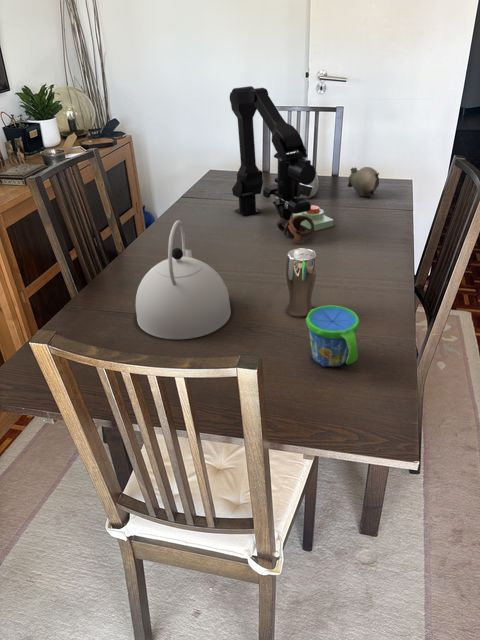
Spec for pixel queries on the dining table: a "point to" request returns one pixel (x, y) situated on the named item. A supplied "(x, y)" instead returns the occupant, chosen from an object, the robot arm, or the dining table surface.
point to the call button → (314, 209)
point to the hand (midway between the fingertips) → (285, 224)
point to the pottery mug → (296, 228)
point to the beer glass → (300, 280)
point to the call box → (316, 220)
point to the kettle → (181, 296)
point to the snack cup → (333, 335)
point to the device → (314, 184)
